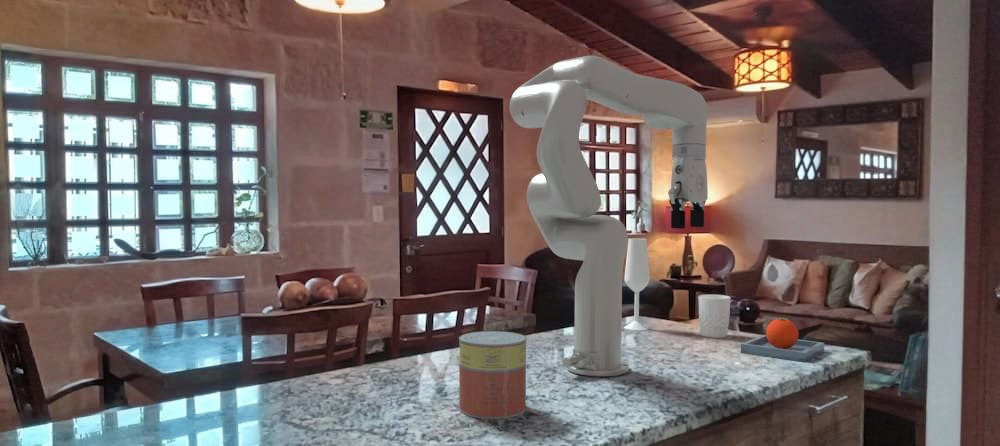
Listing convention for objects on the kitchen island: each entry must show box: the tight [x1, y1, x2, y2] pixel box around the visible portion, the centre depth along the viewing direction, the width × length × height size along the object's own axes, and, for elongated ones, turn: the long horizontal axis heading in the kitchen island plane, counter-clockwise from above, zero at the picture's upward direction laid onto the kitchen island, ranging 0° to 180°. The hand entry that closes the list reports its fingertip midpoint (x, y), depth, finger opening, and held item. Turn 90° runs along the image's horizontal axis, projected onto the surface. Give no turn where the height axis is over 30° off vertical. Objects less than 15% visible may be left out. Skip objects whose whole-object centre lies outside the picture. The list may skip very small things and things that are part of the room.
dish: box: [740, 334, 825, 363], centre depth 163 cm, size 14×14×2 cm
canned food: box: [458, 330, 528, 420], centre depth 119 cm, size 11×11×12 cm
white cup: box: [697, 294, 732, 339], centre depth 182 cm, size 8×8×10 cm
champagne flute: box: [623, 237, 651, 331], centre depth 192 cm, size 7×7×24 cm
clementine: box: [765, 317, 799, 349], centre depth 163 cm, size 8×7×7 cm
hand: (687, 227), depth 165 cm, fingers open, 9 cm apart
